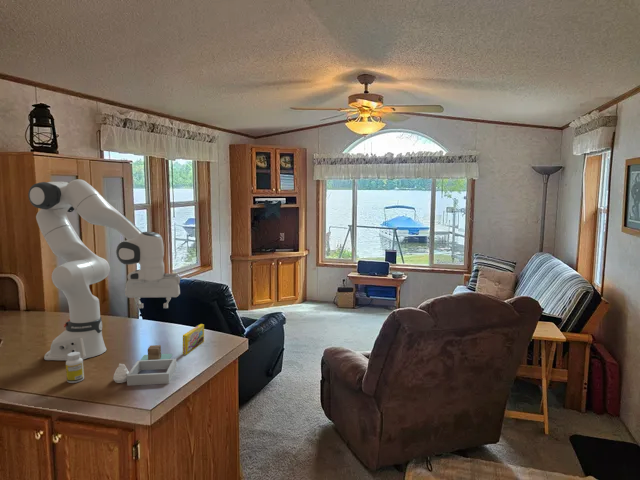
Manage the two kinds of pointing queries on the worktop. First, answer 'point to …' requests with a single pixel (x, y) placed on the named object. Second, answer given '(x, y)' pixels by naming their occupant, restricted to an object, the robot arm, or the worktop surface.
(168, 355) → the teal tile
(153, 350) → the walnut block
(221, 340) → the worktop surface
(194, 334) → the candy box
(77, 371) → the supplement bottle
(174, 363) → the grey bin
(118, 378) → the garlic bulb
